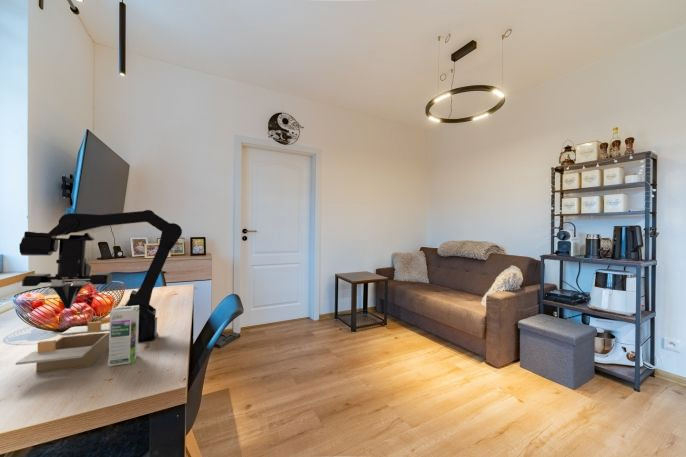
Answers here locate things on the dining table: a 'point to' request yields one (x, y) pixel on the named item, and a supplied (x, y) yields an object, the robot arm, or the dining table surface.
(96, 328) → the right cover
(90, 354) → the carton
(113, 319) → the syrup box
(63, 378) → the dining table surface
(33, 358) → the left cover
